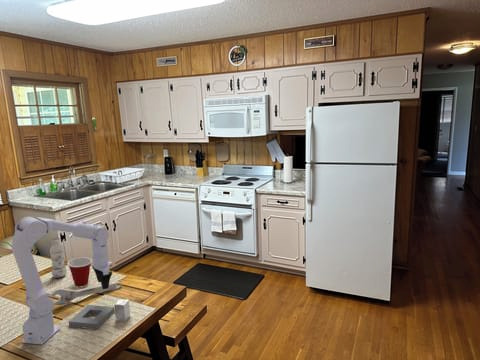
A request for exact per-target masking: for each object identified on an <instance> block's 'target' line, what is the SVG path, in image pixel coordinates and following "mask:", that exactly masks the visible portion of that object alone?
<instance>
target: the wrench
mask: <svg viewBox="0 0 480 360" xmlns="http://www.w3.org/2000/svg"><path fill="white" fill-rule="evenodd" d="M118 284H119V285H118ZM117 285H118V286H117ZM120 288H122V283H121V281H114V282H109V287H108V288H107V289H103V288H102V285H101V284H100V285H99V284H98V285H94V286H89V287H86V288H81V289H68V288H67V289H66V288H63V287H57V288H56V289H54V290H52V291H51V292H50V294H49V298H51V299H52V298H54V297H55V296H57V295H59V296H60V298H59V299H57V300H55V301H54V306H63V305H65V307H66V306H68V305H70V302H72V301H73V300H74V299H76V298H79V297H80V298H81V297H85V296H90V295H95V294H99V293H104V292H107V291H108V292H109V291H113V290H117V289H120Z"/></svg>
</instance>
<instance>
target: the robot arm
mask: <svg viewBox="0 0 480 360" xmlns="http://www.w3.org/2000/svg"><path fill="white" fill-rule="evenodd" d="M53 231H58V232H66V233H72V235H73V236H74V237H76V238H82V239H87V240H91V244H92V257H93V258H92V260H93V266H92V265H91V266H92V267H91V269H93V271H94V273H95V276H96V279H97V282H98V283H100V285H102V288H103V289H107V288H108V287H109V283H110V280H111V277H112V275H113V271H111V270H110V271H109V267H110V265H112V264H113V263H112V261H109V250H108V239H109V237H110V232H109V231H108V229H107V228H106V227H103V226H101V225H98V224H96V223H93V224H90V223H87V221H84V220H82V221H81V222H80V221H78V222H76V223H75V224H74V223H70V222H65V221H60V220H56V219H52V218H46V217H37V216H36V217H33V216H25V217H23V218H21V219H20V220H18V223H17V224H16V225H14V233H13V236H12V241H11V245H10V249H11V251H12V254H13V257H14V259H15V263H16V265H17V269H18V271H19V273H20V277H21V278H22V279H21V280H22V282H23V285H24V288H25V290H26V291H25V306H26V307H27V308H29V311H28V318H27V320H26V321H24V323H23V325H22V333H23V334H22V335H23V340H22V343H24V344H32V345H33V344H34V345H43V344H44V343H45V342H46V341H48V340H49V339H51V337H53V336H54V334H57V332H58V331H59V330H60V329H61V327H58V326H55V322H54V314H53V310H54V306H55V305H54V302H55V301H54V299H52V298H51V297H50V295H49V294H48V292H47V291H46V289H45V288H44V284H43V282H42V279H41V276H40V273H39V271H38V267H37V264H36V261H35V258H34V256H33V253H32V249H31V248H32V247H33V245H35V243H37V242H38V241H39V240H40V239H41V238H42V237H44V236H45V235H46V234H50V233H51V232H53Z"/></svg>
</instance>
